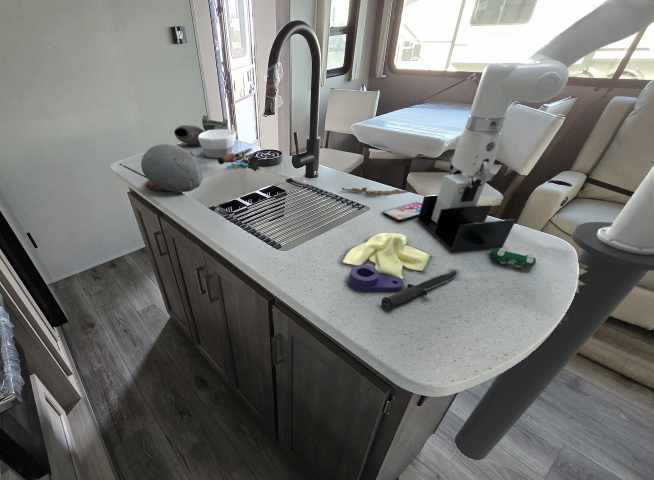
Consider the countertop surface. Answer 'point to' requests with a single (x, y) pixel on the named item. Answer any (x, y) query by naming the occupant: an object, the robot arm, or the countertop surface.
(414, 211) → the smartphone
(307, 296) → the countertop surface
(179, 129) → the planter
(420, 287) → the knife
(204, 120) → the toy tank
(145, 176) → the incense holder
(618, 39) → the robot arm
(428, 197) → the rack
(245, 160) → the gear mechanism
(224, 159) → the knife
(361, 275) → the lever
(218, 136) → the bowl
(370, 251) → the cloth
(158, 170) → the gray stone
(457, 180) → the small box
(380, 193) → the wooden twig
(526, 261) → the gaming controller
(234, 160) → the dinosaur
